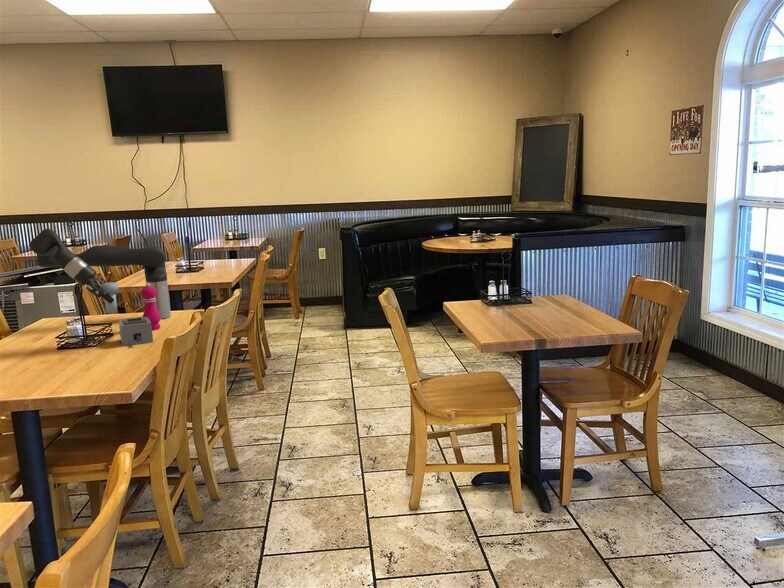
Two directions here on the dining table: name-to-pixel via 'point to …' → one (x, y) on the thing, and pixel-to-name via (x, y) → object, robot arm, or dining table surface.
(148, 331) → the grey block
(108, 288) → the peg
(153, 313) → the pepper mill
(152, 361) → the dining table surface
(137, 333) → the plunger
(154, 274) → the robot arm
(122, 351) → the dining table surface
